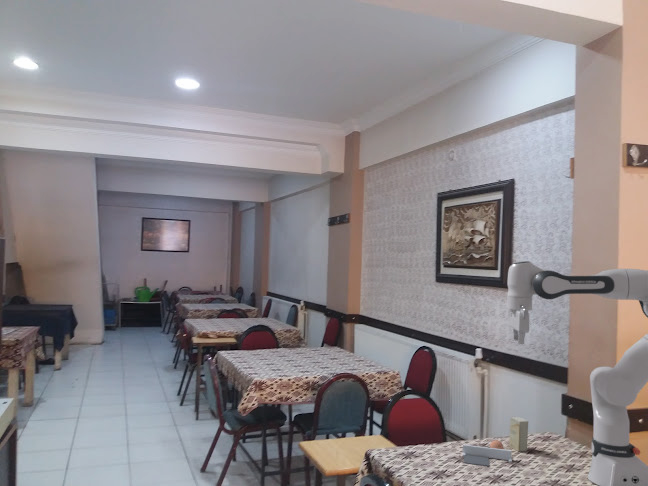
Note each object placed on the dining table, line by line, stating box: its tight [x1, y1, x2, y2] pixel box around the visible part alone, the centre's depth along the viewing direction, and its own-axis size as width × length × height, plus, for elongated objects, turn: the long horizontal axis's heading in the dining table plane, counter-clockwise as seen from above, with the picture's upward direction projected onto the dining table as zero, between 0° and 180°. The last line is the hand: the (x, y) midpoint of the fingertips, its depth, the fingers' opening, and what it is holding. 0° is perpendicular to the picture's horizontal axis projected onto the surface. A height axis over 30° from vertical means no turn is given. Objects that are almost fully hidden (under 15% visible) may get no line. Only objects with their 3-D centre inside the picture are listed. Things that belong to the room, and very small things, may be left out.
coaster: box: [463, 454, 490, 467], centre depth 196 cm, size 9×9×1 cm
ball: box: [489, 440, 504, 449], centre depth 205 cm, size 5×5×5 cm
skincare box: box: [508, 416, 529, 452], centre depth 211 cm, size 6×4×12 cm
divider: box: [462, 444, 513, 463], centre depth 200 cm, size 18×5×4 cm, turn 75°
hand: (518, 342), depth 192 cm, fingers open, 8 cm apart
